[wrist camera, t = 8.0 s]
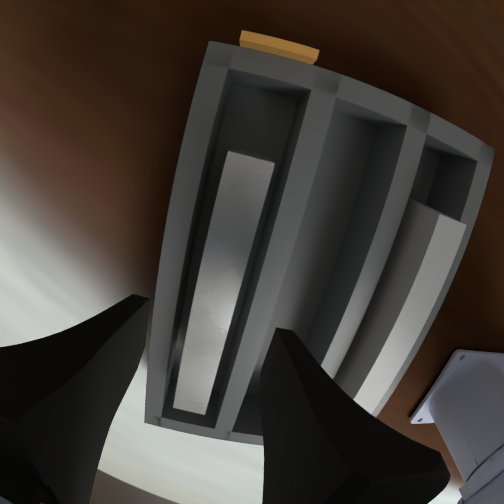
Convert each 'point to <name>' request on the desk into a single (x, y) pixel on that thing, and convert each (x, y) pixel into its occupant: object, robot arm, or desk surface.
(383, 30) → the desk surface
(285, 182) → the rack
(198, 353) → the panel
